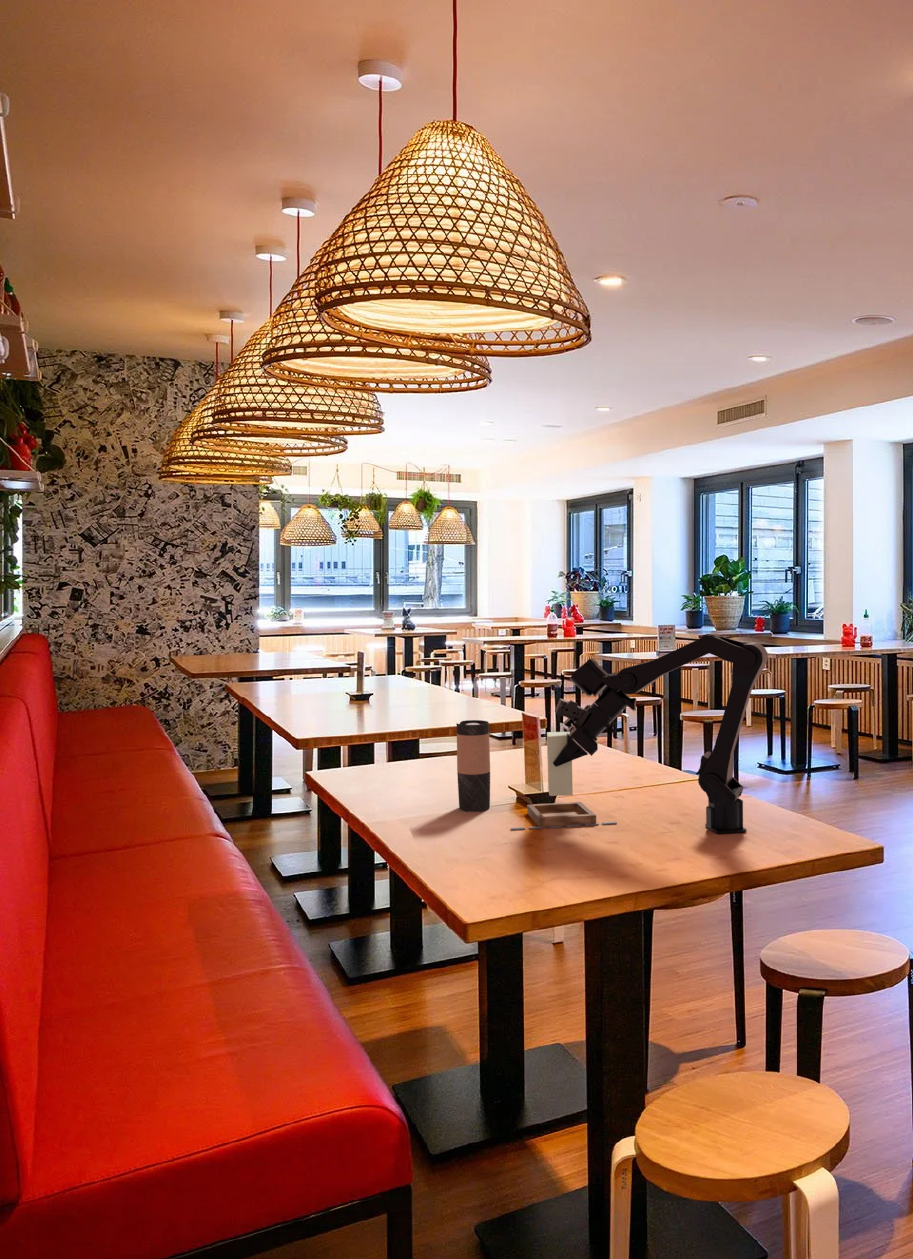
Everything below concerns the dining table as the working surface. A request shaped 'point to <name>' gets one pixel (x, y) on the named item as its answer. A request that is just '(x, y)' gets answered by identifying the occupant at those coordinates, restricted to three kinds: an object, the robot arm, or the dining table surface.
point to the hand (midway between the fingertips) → (553, 762)
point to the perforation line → (561, 826)
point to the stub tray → (560, 814)
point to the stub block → (561, 774)
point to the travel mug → (473, 765)
